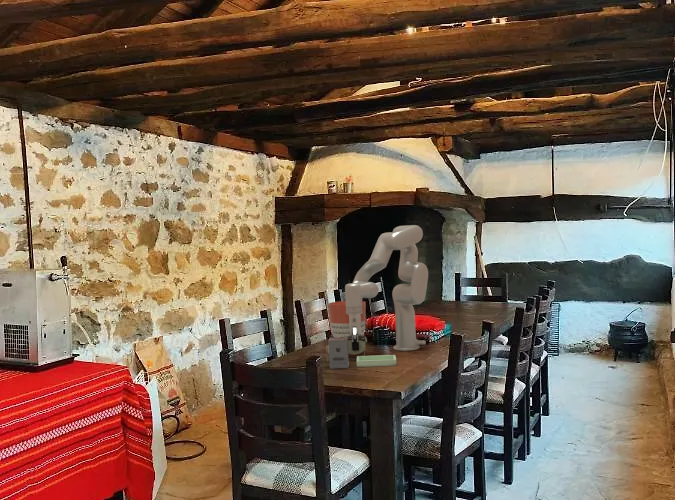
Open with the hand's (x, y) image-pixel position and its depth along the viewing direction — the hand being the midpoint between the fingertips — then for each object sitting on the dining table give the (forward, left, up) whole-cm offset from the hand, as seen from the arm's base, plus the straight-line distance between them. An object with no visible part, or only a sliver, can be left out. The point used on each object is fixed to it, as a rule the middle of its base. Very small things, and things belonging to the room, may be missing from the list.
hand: (355, 348), depth 280 cm
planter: (+5, -40, -5) cm, 41 cm away
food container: (0, 0, -5) cm, 5 cm away
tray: (-9, +14, -4) cm, 17 cm away
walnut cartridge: (+11, +5, -4) cm, 13 cm away
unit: (+7, +17, -4) cm, 19 cm away
